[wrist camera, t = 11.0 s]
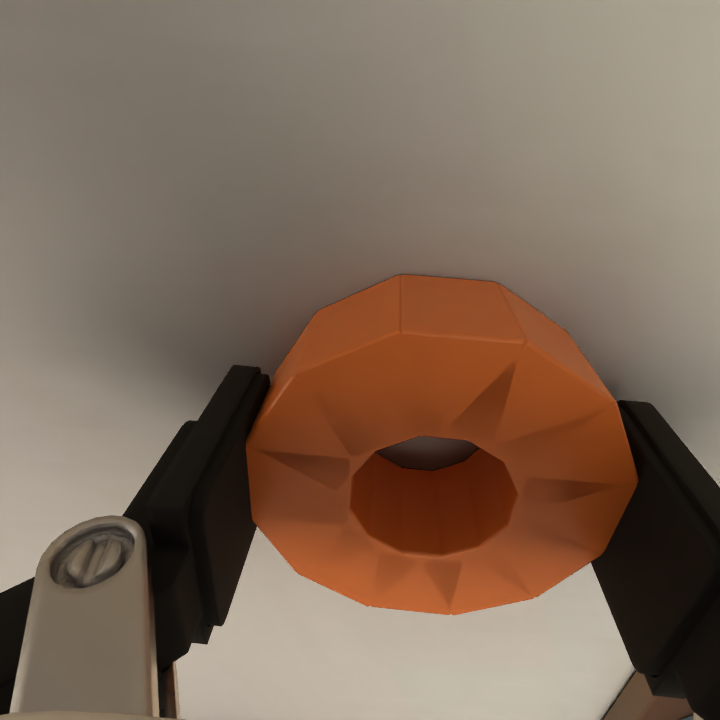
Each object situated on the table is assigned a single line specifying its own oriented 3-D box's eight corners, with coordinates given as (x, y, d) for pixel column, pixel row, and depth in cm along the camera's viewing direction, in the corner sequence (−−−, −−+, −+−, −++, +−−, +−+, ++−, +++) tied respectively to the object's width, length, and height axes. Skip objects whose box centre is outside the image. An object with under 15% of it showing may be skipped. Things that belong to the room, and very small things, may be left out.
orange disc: (270, 262, 9) (230, 314, 7) (631, 291, 9) (705, 355, 7) (280, 509, 13) (255, 595, 10) (538, 535, 12) (568, 629, 10)
